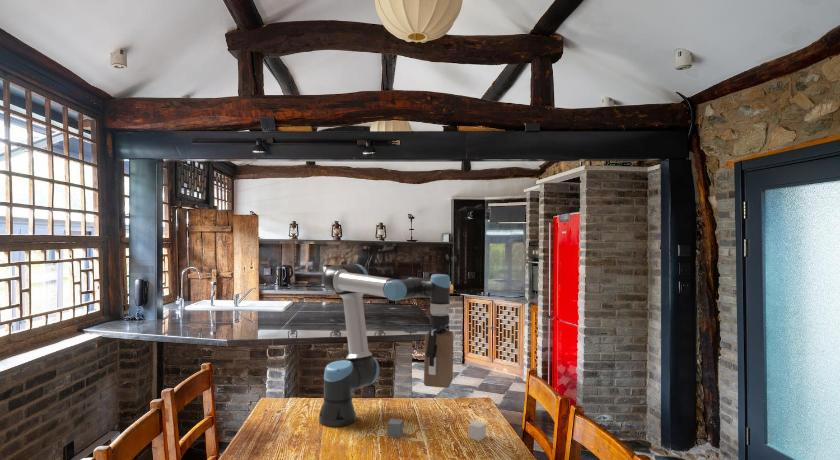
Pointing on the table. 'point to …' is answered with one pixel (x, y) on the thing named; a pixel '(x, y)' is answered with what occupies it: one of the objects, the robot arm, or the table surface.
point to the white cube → (477, 430)
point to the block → (440, 361)
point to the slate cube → (395, 427)
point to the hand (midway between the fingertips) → (438, 370)
